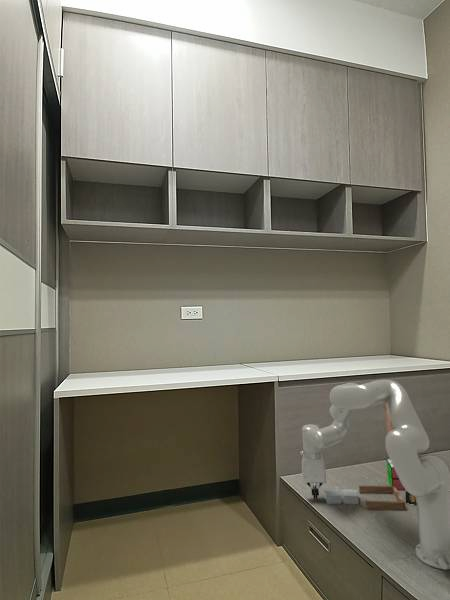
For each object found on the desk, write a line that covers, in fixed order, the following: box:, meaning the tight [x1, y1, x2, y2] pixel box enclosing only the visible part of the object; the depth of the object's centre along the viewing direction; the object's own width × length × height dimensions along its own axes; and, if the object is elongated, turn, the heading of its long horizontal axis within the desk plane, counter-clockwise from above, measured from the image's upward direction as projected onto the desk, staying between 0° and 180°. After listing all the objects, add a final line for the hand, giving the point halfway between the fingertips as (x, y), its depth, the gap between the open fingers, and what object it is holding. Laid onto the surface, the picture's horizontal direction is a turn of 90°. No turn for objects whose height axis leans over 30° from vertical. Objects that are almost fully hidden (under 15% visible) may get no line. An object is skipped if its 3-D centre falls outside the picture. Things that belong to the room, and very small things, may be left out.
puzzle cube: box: [385, 458, 405, 491], centre depth 172 cm, size 10×10×10 cm
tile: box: [342, 488, 360, 505], centre depth 161 cm, size 6×6×4 cm
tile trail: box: [323, 488, 342, 505], centre depth 163 cm, size 6×6×4 cm
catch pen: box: [358, 485, 407, 511], centre depth 159 cm, size 15×15×3 cm
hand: (315, 496), depth 164 cm, fingers closed
